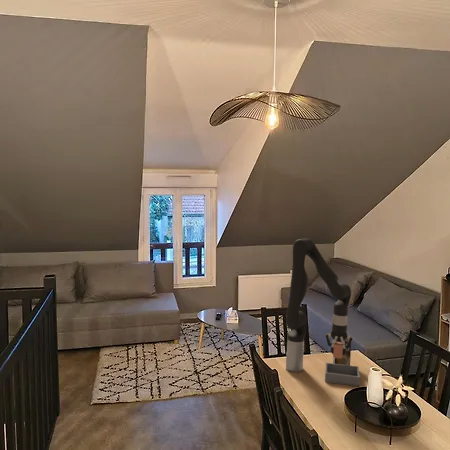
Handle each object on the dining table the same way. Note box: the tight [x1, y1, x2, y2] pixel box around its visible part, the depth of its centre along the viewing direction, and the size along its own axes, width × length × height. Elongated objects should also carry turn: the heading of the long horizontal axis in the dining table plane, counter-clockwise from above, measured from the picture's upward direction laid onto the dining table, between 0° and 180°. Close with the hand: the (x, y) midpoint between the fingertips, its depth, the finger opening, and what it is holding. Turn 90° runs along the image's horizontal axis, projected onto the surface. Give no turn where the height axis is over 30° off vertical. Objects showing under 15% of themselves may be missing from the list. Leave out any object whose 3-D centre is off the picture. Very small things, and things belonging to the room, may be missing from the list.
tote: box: [324, 362, 361, 387], centre depth 238 cm, size 18×14×5 cm
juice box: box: [332, 342, 343, 359], centre depth 228 cm, size 4×4×7 cm
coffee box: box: [332, 338, 352, 366], centre depth 254 cm, size 9×6×16 cm
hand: (337, 354), depth 228 cm, fingers closed on juice box, 4 cm apart
